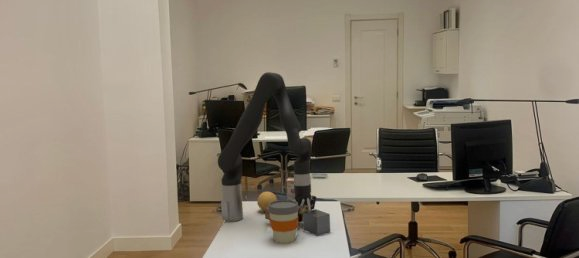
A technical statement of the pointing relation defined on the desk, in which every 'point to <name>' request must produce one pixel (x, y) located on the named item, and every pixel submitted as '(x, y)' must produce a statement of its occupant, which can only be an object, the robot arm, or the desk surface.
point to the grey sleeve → (316, 222)
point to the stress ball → (265, 200)
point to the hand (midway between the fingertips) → (303, 220)
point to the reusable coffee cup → (284, 220)
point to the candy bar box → (290, 189)
